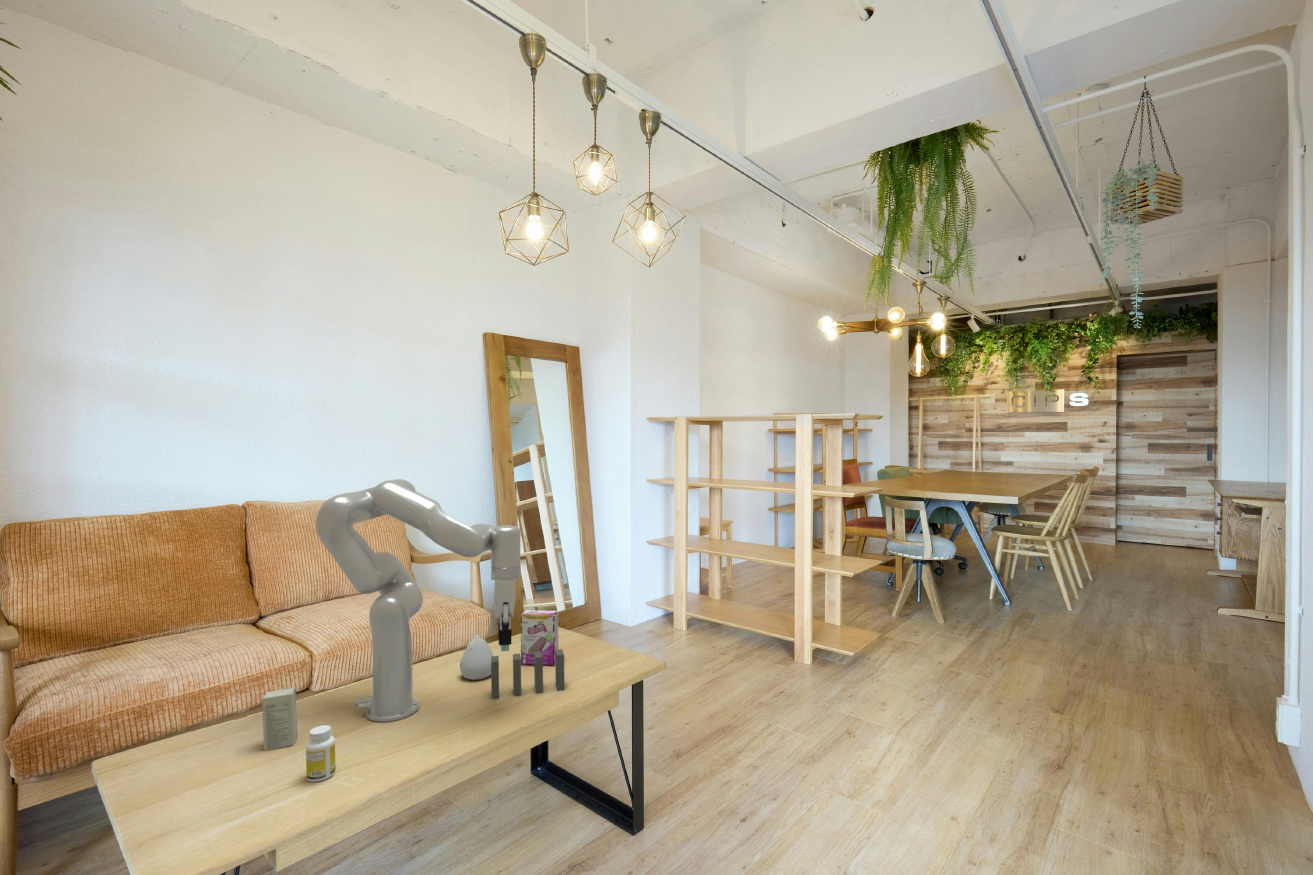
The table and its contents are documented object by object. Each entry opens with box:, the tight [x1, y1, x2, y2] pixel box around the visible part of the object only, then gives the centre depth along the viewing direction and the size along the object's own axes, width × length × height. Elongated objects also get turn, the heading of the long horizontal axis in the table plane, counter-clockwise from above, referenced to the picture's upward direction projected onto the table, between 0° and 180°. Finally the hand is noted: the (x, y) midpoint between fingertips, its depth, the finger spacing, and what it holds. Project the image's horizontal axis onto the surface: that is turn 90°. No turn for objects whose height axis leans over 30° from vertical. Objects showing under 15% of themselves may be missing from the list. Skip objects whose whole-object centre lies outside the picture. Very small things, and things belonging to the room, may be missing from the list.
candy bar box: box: [520, 609, 559, 667], centre depth 192 cm, size 11×5×16 cm, turn 84°
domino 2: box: [500, 615, 510, 652], centre depth 159 cm, size 2×5×10 cm, turn 16°
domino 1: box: [490, 655, 500, 700], centre depth 168 cm, size 2×5×10 cm, turn 16°
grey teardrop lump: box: [459, 634, 495, 681], centre depth 182 cm, size 10×10×12 cm
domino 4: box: [533, 651, 544, 694], centre depth 171 cm, size 2×5×10 cm, turn 16°
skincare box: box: [261, 687, 298, 751], centre depth 141 cm, size 6×4×12 cm
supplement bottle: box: [305, 724, 336, 783], centre depth 127 cm, size 5×5×10 cm
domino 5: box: [554, 648, 565, 692], centre depth 173 cm, size 2×5×10 cm, turn 15°
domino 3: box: [512, 652, 522, 697], centre depth 169 cm, size 2×5×10 cm, turn 15°
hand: (504, 640), depth 159 cm, fingers closed on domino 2, 4 cm apart
